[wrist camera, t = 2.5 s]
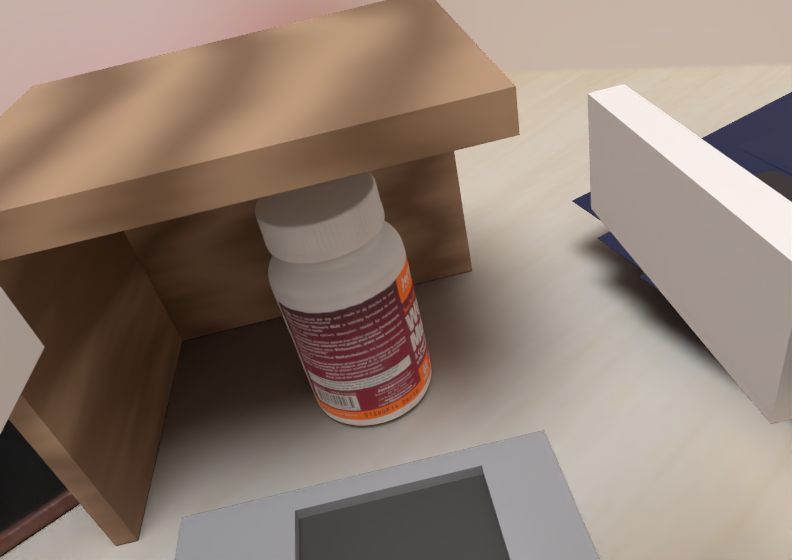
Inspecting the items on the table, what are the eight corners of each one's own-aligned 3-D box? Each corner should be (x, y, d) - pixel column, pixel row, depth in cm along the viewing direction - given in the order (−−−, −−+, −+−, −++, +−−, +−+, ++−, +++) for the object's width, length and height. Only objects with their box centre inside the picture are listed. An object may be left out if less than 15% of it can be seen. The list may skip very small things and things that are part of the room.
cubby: (115, 545, 27) (-139, 245, 18) (169, 334, 39) (32, 86, 30) (544, 442, 27) (515, 86, 18) (468, 261, 39) (426, -10, 30)
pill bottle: (454, 396, 30) (413, 194, 24) (337, 451, 29) (260, 254, 22) (404, 327, 35) (358, 143, 28) (302, 372, 34) (230, 190, 27)
